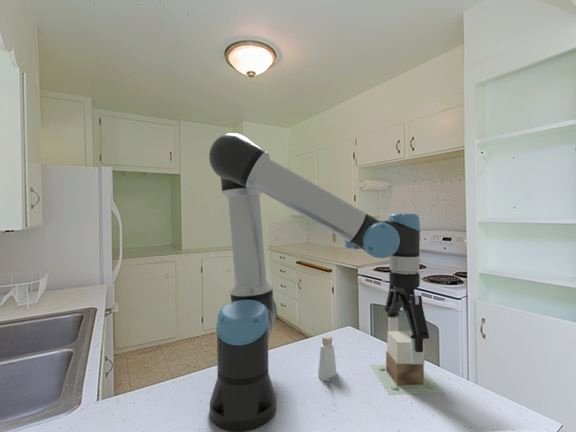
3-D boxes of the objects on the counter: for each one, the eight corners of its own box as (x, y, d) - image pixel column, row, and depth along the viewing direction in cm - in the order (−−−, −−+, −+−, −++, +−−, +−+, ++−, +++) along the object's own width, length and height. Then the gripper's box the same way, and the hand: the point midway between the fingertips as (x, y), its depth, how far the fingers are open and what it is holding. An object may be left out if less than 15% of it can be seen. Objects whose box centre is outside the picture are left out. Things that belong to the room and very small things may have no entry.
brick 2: (397, 385, 76) (397, 364, 76) (386, 370, 83) (386, 351, 83) (423, 384, 76) (423, 363, 76) (410, 370, 83) (410, 350, 83)
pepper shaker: (323, 383, 79) (323, 342, 79) (314, 373, 84) (313, 334, 84) (341, 378, 81) (340, 338, 81) (330, 369, 86) (330, 331, 86)
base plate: (389, 398, 72) (389, 393, 72) (369, 368, 86) (369, 363, 86) (444, 396, 73) (444, 390, 73) (416, 366, 87) (416, 362, 87)
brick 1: (397, 363, 76) (397, 342, 76) (387, 351, 83) (387, 331, 83) (424, 363, 76) (424, 341, 76) (412, 350, 83) (412, 331, 83)
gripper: (445, 281, 67) (445, 375, 67) (397, 263, 92) (397, 331, 92) (413, 282, 66) (413, 376, 67) (373, 263, 91) (373, 332, 92)
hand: (404, 350), depth 79 cm, fingers open, 13 cm apart
